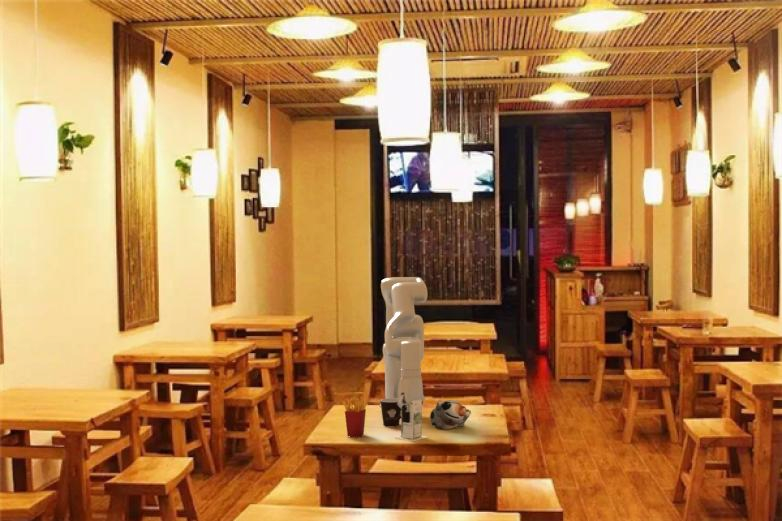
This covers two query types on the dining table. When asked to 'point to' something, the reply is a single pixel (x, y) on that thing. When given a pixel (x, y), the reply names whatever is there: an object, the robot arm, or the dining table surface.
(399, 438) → the tile
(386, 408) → the coffee mug
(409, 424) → the syrup box
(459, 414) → the lucky cat figurine
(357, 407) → the french fries
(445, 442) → the dining table surface
